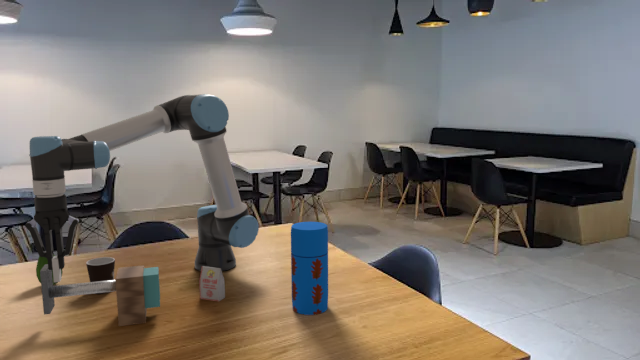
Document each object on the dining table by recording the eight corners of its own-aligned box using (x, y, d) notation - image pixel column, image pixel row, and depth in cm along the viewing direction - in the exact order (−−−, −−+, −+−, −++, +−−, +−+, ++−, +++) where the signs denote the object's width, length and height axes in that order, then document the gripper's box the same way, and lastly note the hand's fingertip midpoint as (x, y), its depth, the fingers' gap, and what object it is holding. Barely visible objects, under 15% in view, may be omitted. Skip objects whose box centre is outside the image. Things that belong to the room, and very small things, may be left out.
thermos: (301, 317, 144) (300, 232, 140) (286, 304, 153) (284, 224, 150) (334, 310, 149) (334, 227, 145) (318, 298, 158) (317, 220, 155)
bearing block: (146, 309, 151) (144, 265, 149) (145, 322, 141) (142, 276, 139) (121, 312, 149) (118, 267, 147) (118, 326, 139) (115, 278, 137)
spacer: (160, 297, 150) (158, 266, 149) (160, 306, 144) (158, 274, 142) (145, 299, 149) (143, 268, 148) (145, 308, 142) (143, 275, 141)
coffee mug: (106, 296, 161) (104, 265, 160) (82, 294, 163) (80, 264, 162) (127, 283, 173) (125, 255, 171) (104, 282, 174) (102, 253, 173)
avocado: (32, 287, 170) (29, 252, 168) (54, 280, 176) (51, 246, 175) (47, 291, 166) (44, 256, 164) (69, 284, 173) (66, 249, 171)
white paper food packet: (206, 294, 162) (205, 264, 161) (225, 297, 160) (223, 266, 158) (200, 298, 159) (198, 268, 157) (218, 301, 157) (217, 270, 155)
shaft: (145, 295, 148) (143, 255, 147) (145, 303, 143) (142, 261, 141) (48, 306, 141) (44, 264, 139) (44, 314, 135) (39, 271, 133)
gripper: (18, 198, 129) (27, 288, 132) (74, 195, 133) (81, 282, 136) (26, 194, 136) (34, 278, 139) (79, 191, 140) (85, 273, 143)
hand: (57, 280), depth 138 cm, fingers closed
